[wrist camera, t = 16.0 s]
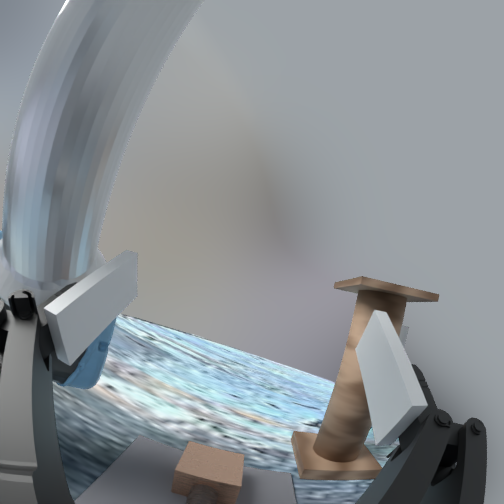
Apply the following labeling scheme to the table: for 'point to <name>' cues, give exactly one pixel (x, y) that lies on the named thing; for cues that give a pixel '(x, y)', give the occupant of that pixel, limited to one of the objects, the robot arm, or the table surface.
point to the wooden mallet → (208, 475)
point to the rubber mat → (161, 478)
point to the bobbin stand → (352, 391)
